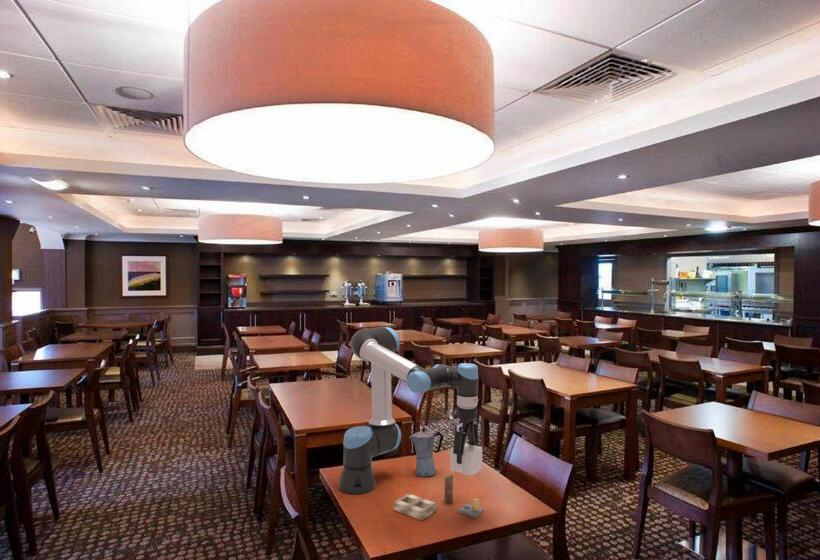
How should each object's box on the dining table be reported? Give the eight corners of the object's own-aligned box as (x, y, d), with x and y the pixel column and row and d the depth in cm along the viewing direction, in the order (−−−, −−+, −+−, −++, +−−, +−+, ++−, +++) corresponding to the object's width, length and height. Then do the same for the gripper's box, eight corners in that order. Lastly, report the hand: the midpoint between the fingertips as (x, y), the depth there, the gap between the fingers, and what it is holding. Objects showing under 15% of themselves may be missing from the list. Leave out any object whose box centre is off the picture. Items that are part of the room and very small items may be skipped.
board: (458, 512, 178) (458, 498, 178) (466, 506, 183) (466, 493, 183) (475, 517, 174) (475, 504, 174) (483, 511, 179) (483, 498, 179)
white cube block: (449, 470, 176) (450, 448, 176) (460, 463, 183) (460, 442, 183) (471, 476, 171) (472, 453, 171) (482, 468, 177) (482, 447, 177)
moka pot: (406, 470, 216) (406, 426, 216) (438, 467, 221) (439, 423, 221) (412, 479, 207) (413, 432, 207) (446, 475, 212) (446, 429, 212)
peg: (442, 501, 186) (443, 476, 186) (447, 498, 189) (447, 473, 189) (449, 504, 184) (450, 478, 184) (454, 501, 187) (454, 475, 187)
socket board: (393, 509, 179) (393, 501, 179) (408, 501, 187) (408, 493, 187) (422, 520, 172) (422, 512, 172) (436, 511, 179) (436, 503, 179)
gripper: (462, 414, 166) (461, 480, 166) (489, 402, 183) (487, 461, 183) (443, 410, 170) (442, 474, 170) (471, 399, 187) (470, 457, 187)
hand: (465, 468), depth 177 cm, fingers closed on white cube block, 8 cm apart
